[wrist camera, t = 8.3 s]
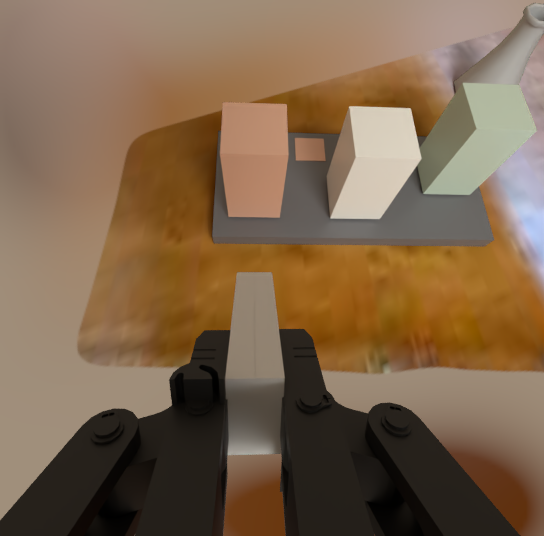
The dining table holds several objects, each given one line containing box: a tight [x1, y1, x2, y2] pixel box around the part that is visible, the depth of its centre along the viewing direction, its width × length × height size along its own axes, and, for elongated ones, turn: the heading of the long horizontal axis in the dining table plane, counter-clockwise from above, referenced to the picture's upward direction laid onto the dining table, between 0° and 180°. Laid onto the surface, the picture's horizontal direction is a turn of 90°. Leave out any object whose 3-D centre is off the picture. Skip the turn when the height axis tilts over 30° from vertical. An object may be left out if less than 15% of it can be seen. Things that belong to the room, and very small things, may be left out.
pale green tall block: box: [417, 83, 537, 195], centre depth 32 cm, size 5×5×9 cm
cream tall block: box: [326, 106, 422, 219], centre depth 30 cm, size 5×5×9 cm
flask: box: [454, 3, 544, 92], centre depth 39 cm, size 7×7×10 cm
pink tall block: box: [220, 102, 289, 218], centre depth 30 cm, size 5×5×9 cm
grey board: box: [212, 131, 494, 246], centre depth 36 cm, size 28×13×2 cm, turn 91°
